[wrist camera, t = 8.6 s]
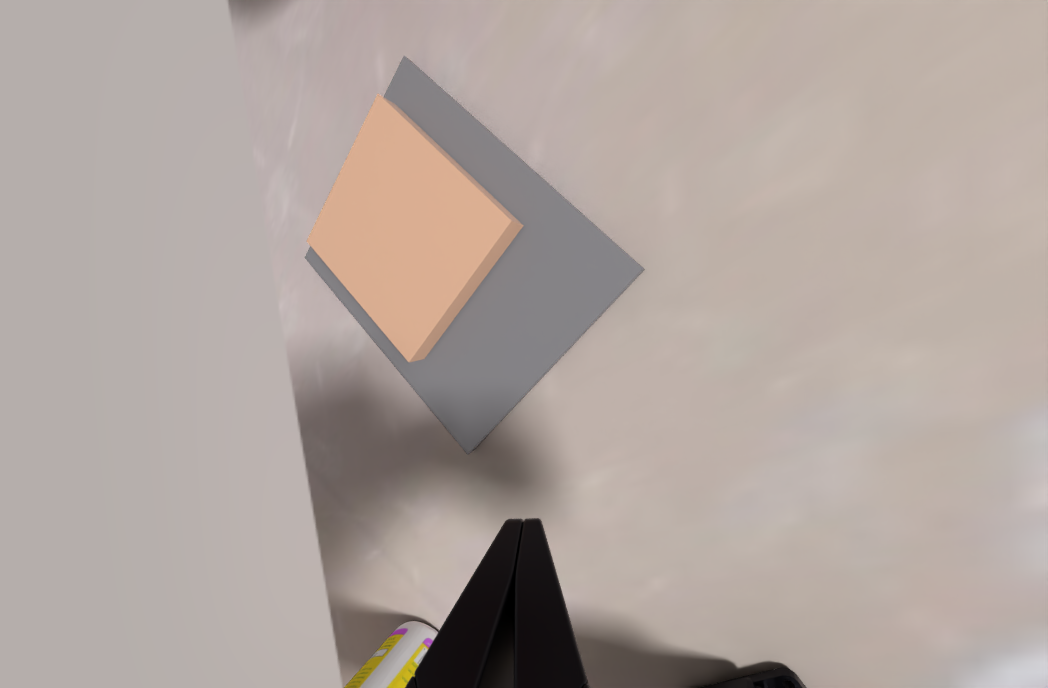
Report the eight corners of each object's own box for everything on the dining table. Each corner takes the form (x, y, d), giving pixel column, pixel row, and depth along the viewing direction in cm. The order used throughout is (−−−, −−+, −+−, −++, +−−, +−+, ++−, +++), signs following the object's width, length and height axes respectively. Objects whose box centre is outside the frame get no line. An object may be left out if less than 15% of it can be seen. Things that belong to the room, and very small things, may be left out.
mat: (644, 269, 19) (643, 268, 19) (472, 451, 25) (467, 454, 25) (410, 60, 24) (403, 55, 23) (311, 258, 30) (304, 257, 29)
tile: (511, 220, 19) (377, 93, 22) (408, 362, 24) (306, 241, 26) (525, 226, 21) (398, 106, 24) (426, 358, 25) (328, 244, 28)
